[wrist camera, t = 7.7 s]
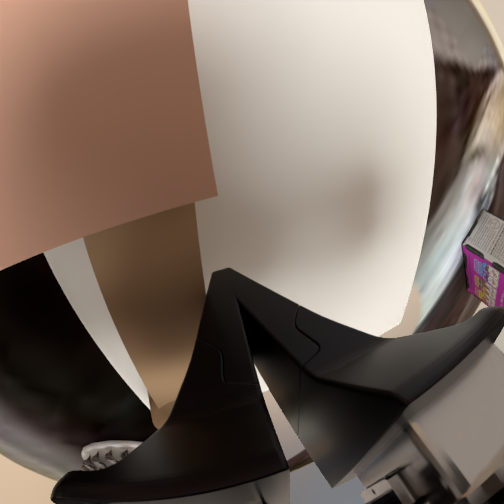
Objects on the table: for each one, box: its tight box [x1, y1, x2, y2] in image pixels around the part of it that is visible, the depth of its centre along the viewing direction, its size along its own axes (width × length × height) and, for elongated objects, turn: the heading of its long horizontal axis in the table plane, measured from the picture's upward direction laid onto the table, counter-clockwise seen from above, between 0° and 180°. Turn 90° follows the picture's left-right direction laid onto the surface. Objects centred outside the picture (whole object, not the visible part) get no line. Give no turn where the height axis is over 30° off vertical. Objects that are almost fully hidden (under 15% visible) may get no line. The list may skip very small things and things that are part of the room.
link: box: [83, 202, 206, 429], centre depth 9 cm, size 17×4×3 cm, turn 1°
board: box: [43, 0, 436, 409], centre depth 11 cm, size 19×23×1 cm
